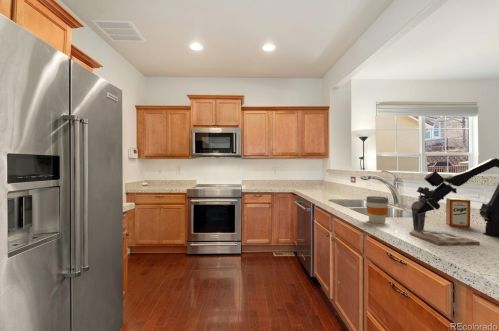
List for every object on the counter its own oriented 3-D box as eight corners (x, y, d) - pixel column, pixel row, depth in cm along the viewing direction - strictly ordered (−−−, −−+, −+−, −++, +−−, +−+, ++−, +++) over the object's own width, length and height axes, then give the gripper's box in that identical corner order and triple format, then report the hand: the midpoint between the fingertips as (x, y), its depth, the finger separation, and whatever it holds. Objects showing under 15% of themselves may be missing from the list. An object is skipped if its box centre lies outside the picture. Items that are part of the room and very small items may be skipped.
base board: (445, 233, 134) (445, 229, 134) (479, 244, 116) (479, 239, 116) (409, 234, 132) (409, 230, 132) (438, 245, 114) (438, 240, 114)
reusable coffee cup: (368, 223, 156) (368, 198, 156) (364, 218, 168) (364, 195, 168) (391, 224, 153) (391, 199, 153) (385, 219, 165) (385, 196, 165)
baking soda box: (465, 225, 153) (465, 198, 152) (470, 227, 147) (470, 199, 146) (446, 223, 156) (446, 197, 156) (449, 226, 150) (450, 198, 150)
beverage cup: (407, 228, 144) (408, 192, 144) (416, 227, 147) (417, 192, 146) (420, 231, 137) (420, 194, 137) (429, 230, 140) (430, 193, 140)
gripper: (422, 180, 149) (400, 198, 153) (433, 183, 132) (407, 203, 136) (438, 195, 146) (415, 212, 150) (451, 199, 129) (425, 219, 133)
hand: (415, 211), depth 142 cm, fingers closed on beverage cup, 7 cm apart
